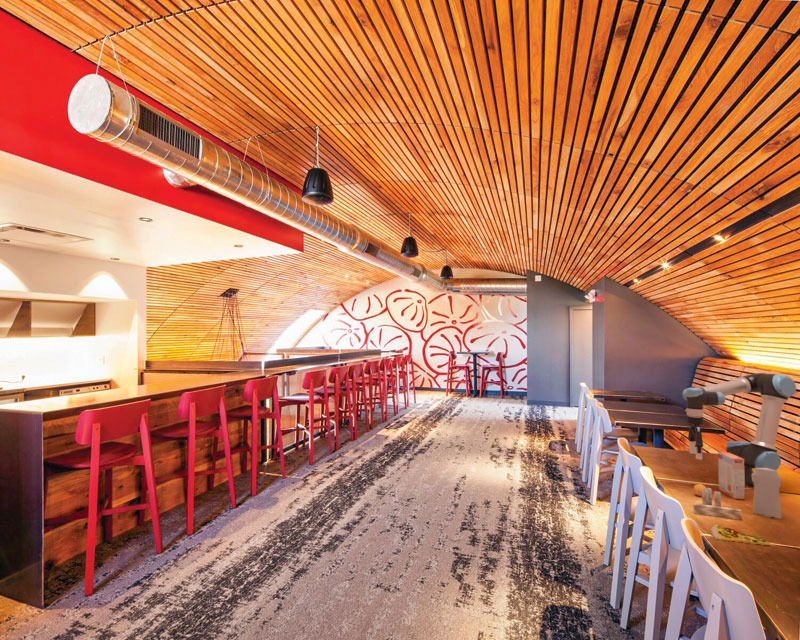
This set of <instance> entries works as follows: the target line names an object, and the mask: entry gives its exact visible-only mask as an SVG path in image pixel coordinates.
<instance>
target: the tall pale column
mask: <svg viewBox="0 0 800 640" xmlns="http://www.w3.org/2000/svg"><path fill="white" fill-rule="evenodd" d="M752 481H753V483H754V484H753V485H754V486H753V494H754V495H753V498H752V501H753V503H752V504H753V507H752V508H753V514H754V513H755V515H757V514H759V516H762V515H763V516H762V517H765V516H766V518H772V517H774V518H773V519H779V520H780V519H782V503H781V500H780V490H781V486H782V477H780V476H779V474H778V471H777V470H772V469H769V468H755V469H754V471H753V473H752Z"/></svg>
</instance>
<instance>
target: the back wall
mask: <svg viewBox="0 0 800 640" xmlns="http://www.w3.org/2000/svg"><path fill="white" fill-rule="evenodd" d="M693 513H694V515H695V514H696V515H702V514H703V516H709V515H711V516H710V517H717V516H718V518H724V517H725V518H726V519H731V518H733V519H732V520H738V519H741V520H740V521H742V519H743V518H742V517H743V515H742V510H741V509H739V508H730V507H725V506H721V507H718V506H715V505H712V506H710V505H702V504H701V503H693Z"/></svg>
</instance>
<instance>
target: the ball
mask: <svg viewBox="0 0 800 640" xmlns="http://www.w3.org/2000/svg"><path fill="white" fill-rule="evenodd" d="M706 488H707V487H706V486H705V485H703V484H701V483H697V484H695V485H694V486H693V493H694V494H696V496H698V497H702V490H706Z"/></svg>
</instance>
